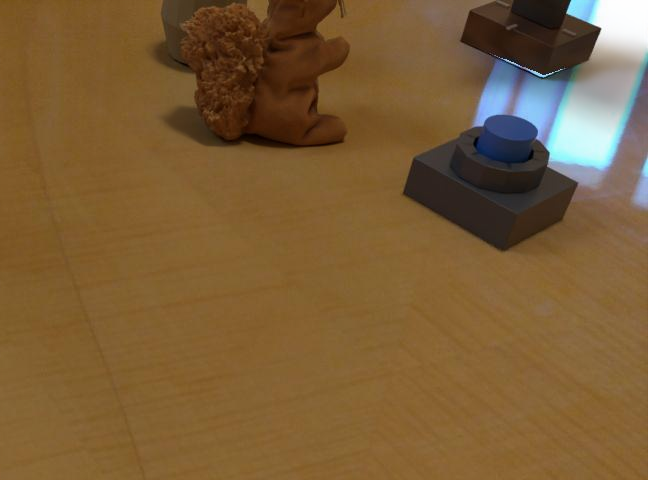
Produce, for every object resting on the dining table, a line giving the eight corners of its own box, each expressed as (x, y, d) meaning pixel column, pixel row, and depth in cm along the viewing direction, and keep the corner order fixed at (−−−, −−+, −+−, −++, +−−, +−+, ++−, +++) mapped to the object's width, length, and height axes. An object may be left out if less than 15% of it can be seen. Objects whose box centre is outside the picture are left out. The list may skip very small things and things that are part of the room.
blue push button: (538, 156, 77) (548, 130, 75) (507, 171, 75) (517, 145, 74) (496, 134, 79) (505, 109, 77) (465, 149, 77) (473, 123, 76)
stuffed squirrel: (354, 142, 86) (394, -21, 76) (204, 163, 83) (226, -6, 73) (302, 90, 92) (334, -69, 82) (161, 107, 89) (175, -56, 79)
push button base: (562, 219, 80) (588, 160, 76) (502, 251, 76) (526, 192, 73) (463, 165, 85) (483, 107, 81) (402, 193, 81) (419, 135, 77)
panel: (592, 57, 100) (606, 25, 98) (538, 80, 96) (551, 47, 94) (510, 21, 105) (521, -11, 102) (456, 42, 101) (466, 9, 98)
